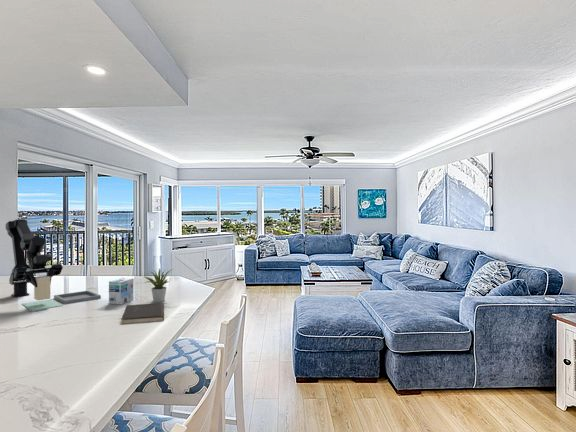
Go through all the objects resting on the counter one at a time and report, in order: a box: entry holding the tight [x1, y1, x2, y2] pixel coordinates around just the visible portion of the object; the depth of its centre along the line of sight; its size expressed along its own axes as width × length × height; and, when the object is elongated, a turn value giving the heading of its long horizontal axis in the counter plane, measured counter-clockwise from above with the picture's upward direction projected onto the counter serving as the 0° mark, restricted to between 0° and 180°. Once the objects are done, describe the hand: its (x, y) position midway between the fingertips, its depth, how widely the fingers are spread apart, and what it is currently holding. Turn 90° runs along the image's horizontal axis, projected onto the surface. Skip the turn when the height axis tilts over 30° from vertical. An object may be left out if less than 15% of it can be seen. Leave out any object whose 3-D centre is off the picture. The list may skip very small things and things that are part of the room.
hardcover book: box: [121, 302, 165, 324], centre depth 166 cm, size 16×23×2 cm
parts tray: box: [53, 290, 102, 305], centre depth 191 cm, size 16×16×2 cm
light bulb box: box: [108, 277, 135, 305], centre depth 187 cm, size 11×7×11 cm, turn 168°
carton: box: [33, 275, 51, 301], centre depth 177 cm, size 5×5×10 cm
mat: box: [21, 298, 63, 313], centre depth 177 cm, size 16×12×1 cm
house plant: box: [144, 268, 175, 303], centre depth 192 cm, size 14×14×16 cm
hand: (43, 285), depth 176 cm, fingers closed on carton, 5 cm apart
